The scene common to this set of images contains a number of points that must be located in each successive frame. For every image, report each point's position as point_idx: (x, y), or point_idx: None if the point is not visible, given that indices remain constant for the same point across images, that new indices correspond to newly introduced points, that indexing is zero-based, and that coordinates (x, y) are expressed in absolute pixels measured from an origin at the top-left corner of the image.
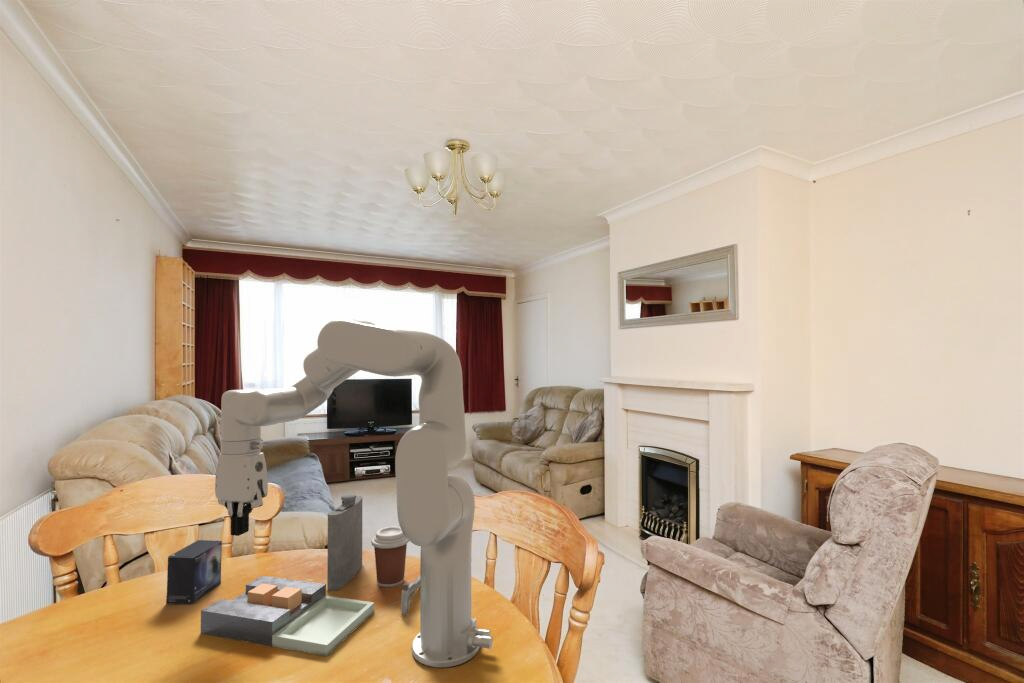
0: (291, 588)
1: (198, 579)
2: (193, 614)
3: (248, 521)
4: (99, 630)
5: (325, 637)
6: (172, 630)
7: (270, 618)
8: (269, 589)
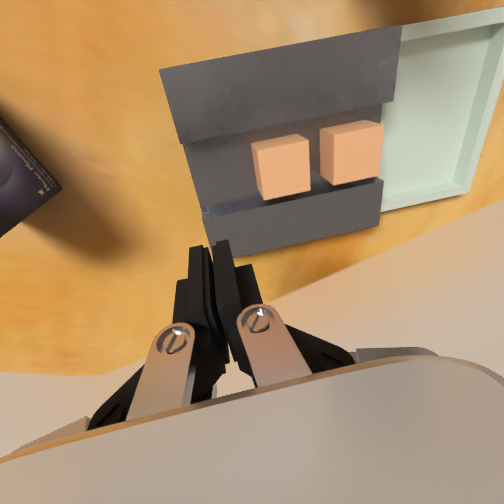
0: (356, 135)
1: (23, 189)
2: (121, 210)
3: (256, 283)
4: (46, 308)
5: (437, 156)
6: (156, 255)
7: (367, 219)
8: (305, 166)
